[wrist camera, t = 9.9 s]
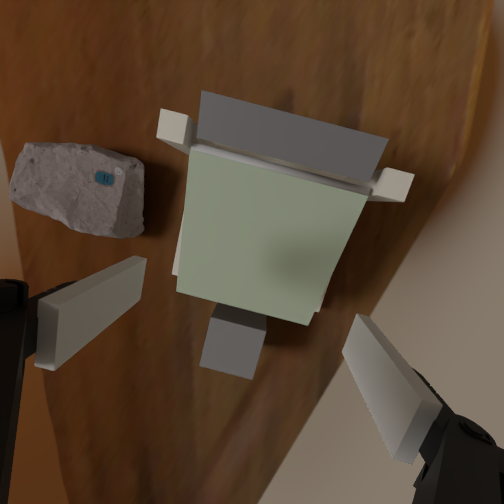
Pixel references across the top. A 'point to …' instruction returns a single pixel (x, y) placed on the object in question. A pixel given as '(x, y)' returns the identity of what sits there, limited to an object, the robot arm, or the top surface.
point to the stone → (81, 187)
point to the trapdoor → (269, 207)
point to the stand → (185, 133)
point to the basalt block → (234, 340)
